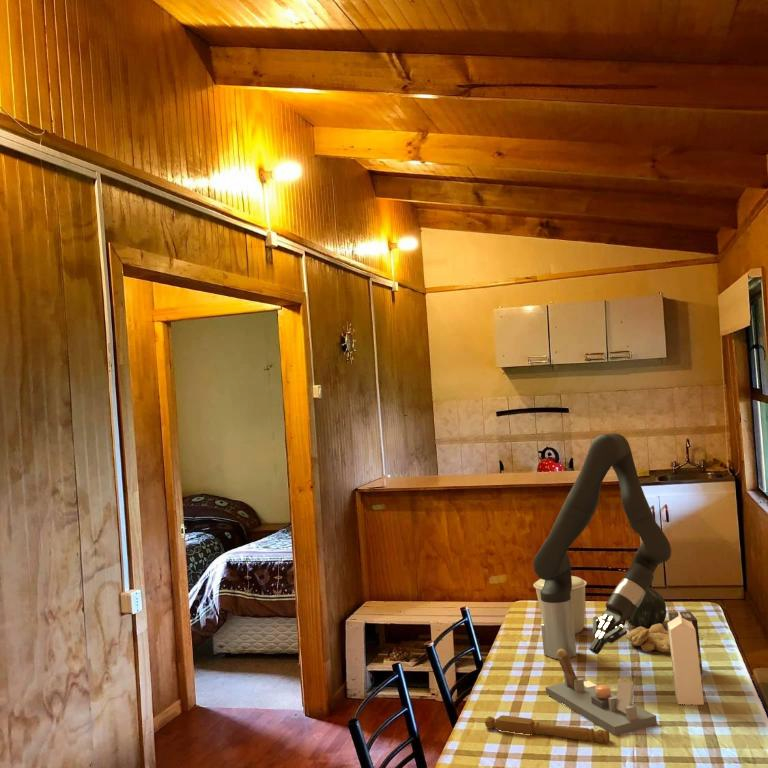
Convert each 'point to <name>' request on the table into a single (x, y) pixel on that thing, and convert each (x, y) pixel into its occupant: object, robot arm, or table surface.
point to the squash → (650, 610)
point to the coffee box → (693, 620)
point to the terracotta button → (603, 691)
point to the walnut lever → (566, 667)
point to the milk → (685, 662)
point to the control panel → (597, 713)
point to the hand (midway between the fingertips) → (593, 652)
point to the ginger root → (650, 638)
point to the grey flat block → (624, 695)
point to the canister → (576, 601)
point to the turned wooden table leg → (546, 729)
